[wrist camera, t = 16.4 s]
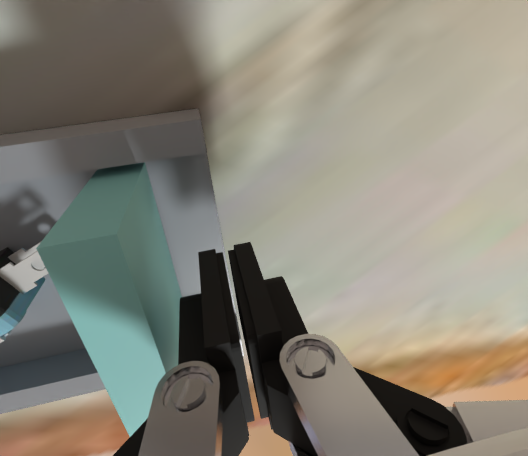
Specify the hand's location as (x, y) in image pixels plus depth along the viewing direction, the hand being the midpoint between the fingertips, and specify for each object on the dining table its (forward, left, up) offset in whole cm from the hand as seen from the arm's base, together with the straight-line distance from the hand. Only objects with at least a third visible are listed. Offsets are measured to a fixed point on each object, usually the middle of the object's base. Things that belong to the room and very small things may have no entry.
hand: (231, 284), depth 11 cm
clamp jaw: (+3, 0, -3) cm, 4 cm away
